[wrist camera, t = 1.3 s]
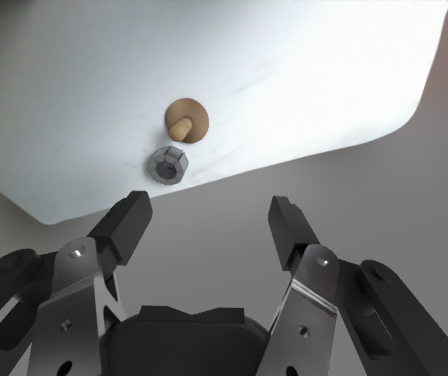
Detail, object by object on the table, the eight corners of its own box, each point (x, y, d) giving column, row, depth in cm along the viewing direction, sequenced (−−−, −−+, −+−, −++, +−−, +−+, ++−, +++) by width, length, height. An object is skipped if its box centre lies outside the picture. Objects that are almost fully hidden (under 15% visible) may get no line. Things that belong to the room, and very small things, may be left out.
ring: (166, 177, 34) (159, 188, 31) (151, 151, 31) (142, 160, 28) (192, 170, 33) (188, 180, 30) (179, 142, 30) (173, 150, 27)
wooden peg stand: (169, 138, 30) (152, 155, 23) (167, 94, 26) (146, 100, 19) (207, 144, 30) (201, 162, 23) (210, 101, 26) (205, 109, 20)
